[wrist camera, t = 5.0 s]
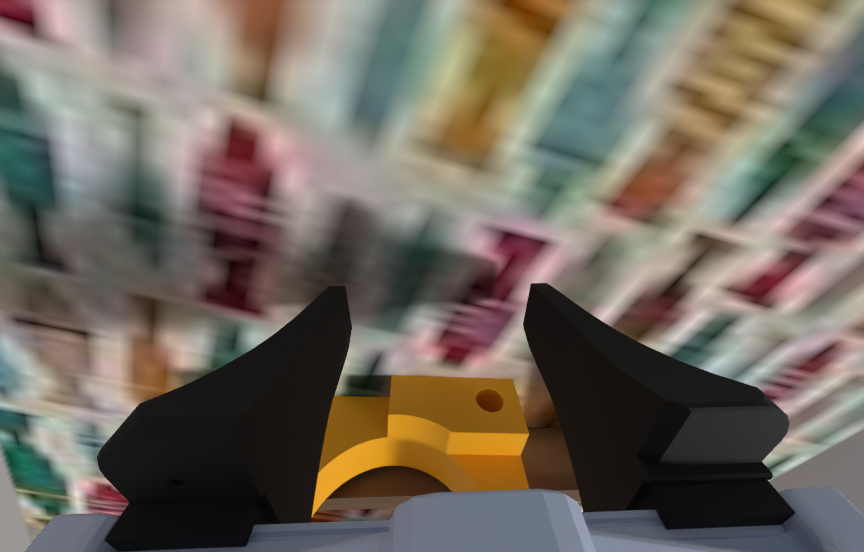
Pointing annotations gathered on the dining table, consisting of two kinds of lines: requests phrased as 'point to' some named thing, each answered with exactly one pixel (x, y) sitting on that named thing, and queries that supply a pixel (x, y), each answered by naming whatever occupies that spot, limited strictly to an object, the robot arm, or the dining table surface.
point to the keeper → (400, 483)
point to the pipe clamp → (429, 434)
